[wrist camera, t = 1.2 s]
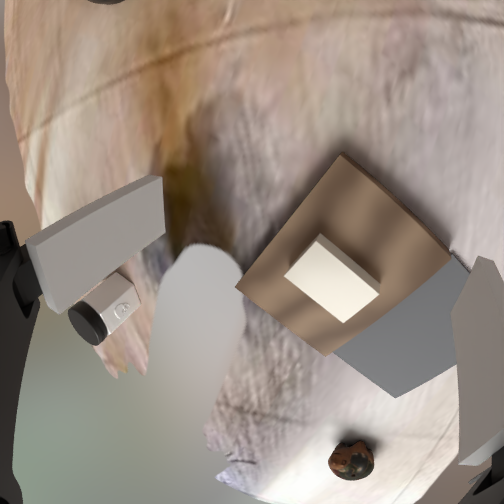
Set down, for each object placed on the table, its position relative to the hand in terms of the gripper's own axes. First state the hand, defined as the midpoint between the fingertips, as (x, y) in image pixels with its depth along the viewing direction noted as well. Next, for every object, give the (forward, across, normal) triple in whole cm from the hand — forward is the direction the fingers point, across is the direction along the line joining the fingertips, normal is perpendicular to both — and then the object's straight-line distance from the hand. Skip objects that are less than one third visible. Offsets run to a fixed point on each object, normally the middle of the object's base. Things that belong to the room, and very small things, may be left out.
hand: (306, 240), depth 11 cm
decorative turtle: (+22, +17, -57) cm, 63 cm away
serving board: (+22, +1, -14) cm, 26 cm away
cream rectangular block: (+20, +1, -14) cm, 24 cm away
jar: (+22, -36, -32) cm, 53 cm away
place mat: (+22, +15, -22) cm, 34 cm away
